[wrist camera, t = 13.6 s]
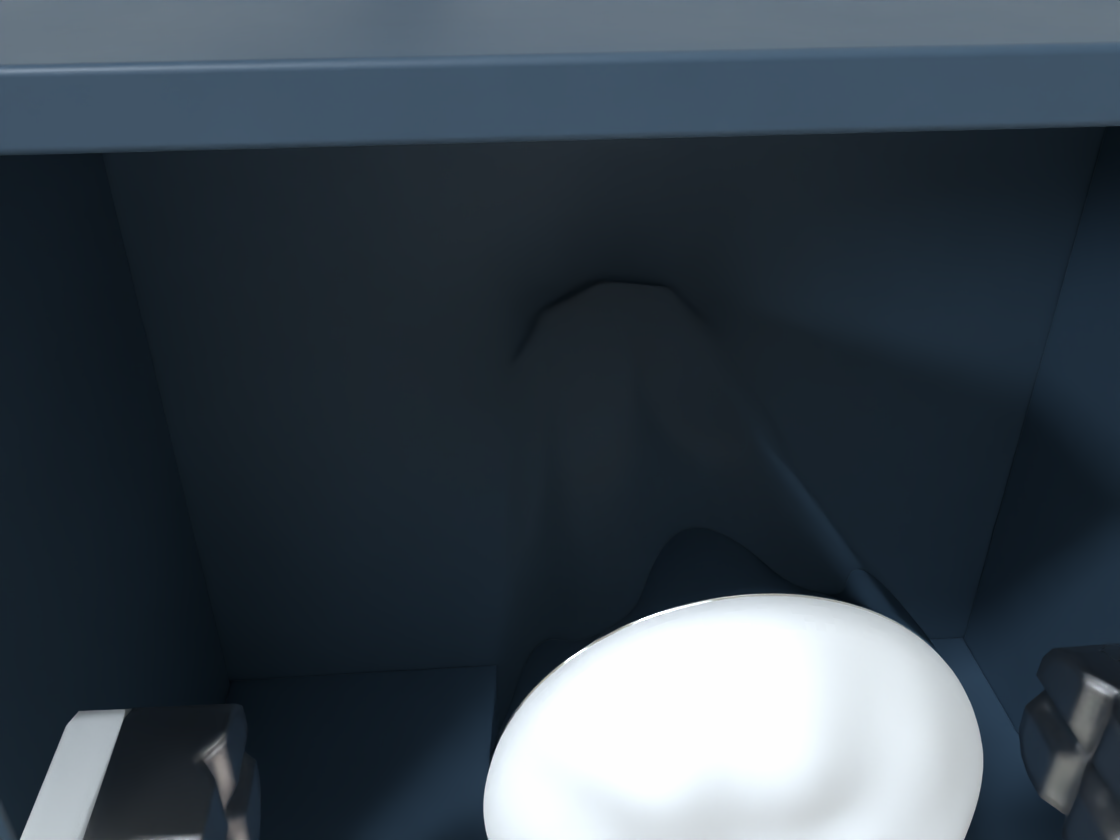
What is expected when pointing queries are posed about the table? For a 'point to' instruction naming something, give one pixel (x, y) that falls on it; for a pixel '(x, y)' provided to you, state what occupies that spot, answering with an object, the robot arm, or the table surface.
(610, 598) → the milkshake
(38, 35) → the tote
